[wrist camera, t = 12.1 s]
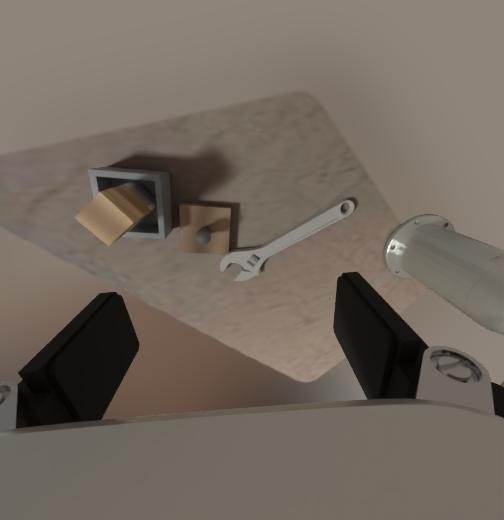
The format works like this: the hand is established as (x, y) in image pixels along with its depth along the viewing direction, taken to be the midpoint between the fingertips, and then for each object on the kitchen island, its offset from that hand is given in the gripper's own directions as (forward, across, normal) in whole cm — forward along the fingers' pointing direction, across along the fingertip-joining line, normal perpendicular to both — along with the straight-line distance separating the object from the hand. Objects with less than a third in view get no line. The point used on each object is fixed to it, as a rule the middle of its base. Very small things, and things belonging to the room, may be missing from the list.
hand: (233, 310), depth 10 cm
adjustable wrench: (+31, -7, +9) cm, 33 cm away
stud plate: (+30, +6, +5) cm, 31 cm away
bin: (+30, +16, -1) cm, 33 cm away
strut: (+29, +16, -1) cm, 33 cm away
